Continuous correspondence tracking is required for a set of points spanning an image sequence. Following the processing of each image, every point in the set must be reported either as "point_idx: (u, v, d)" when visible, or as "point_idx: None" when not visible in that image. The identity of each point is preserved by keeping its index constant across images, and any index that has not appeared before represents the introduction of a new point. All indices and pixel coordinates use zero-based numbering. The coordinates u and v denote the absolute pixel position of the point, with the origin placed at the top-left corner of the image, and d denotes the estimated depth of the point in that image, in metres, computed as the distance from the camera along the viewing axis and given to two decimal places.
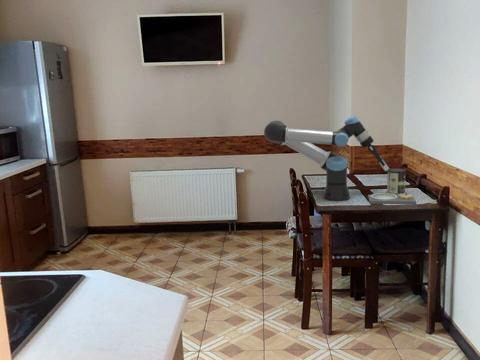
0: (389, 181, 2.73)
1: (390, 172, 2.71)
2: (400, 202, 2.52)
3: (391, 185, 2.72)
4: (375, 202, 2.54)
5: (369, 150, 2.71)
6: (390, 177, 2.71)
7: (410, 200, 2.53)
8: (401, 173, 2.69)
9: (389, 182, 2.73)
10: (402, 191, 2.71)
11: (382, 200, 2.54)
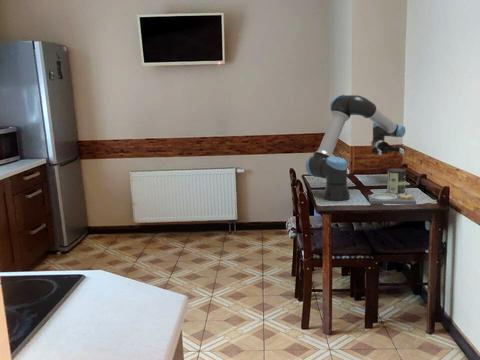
0: (389, 181, 2.73)
1: (390, 172, 2.71)
2: (400, 202, 2.52)
3: (391, 185, 2.72)
4: (375, 202, 2.54)
5: (389, 145, 2.93)
6: (390, 177, 2.71)
7: (410, 200, 2.53)
8: (401, 173, 2.69)
9: (389, 182, 2.73)
10: (402, 191, 2.71)
11: (382, 200, 2.54)
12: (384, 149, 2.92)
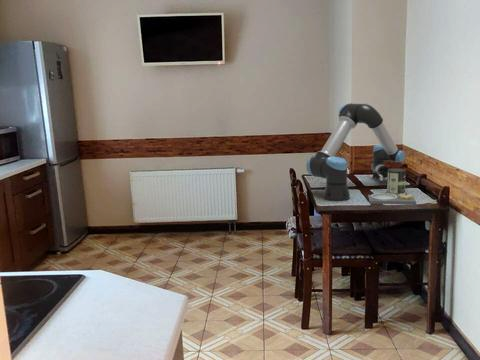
0: (389, 181, 2.73)
1: (390, 172, 2.71)
2: (400, 202, 2.52)
3: (391, 185, 2.72)
4: (375, 202, 2.54)
5: None
6: (390, 177, 2.71)
7: (410, 200, 2.53)
8: (401, 173, 2.69)
9: (389, 182, 2.73)
10: (402, 191, 2.71)
11: (382, 200, 2.54)
12: (385, 174, 2.93)
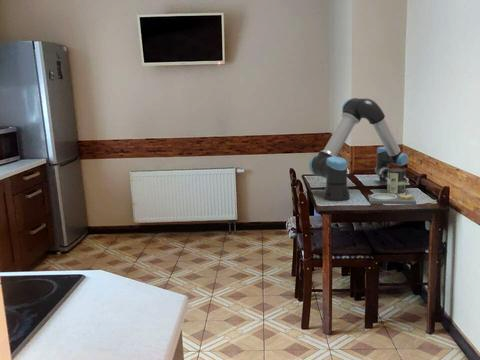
0: None
1: (390, 172, 2.71)
2: (400, 202, 2.52)
3: (391, 185, 2.72)
4: (375, 202, 2.54)
5: None
6: (390, 177, 2.71)
7: (410, 200, 2.53)
8: (401, 173, 2.69)
9: None
10: (402, 191, 2.71)
11: (382, 200, 2.54)
12: None
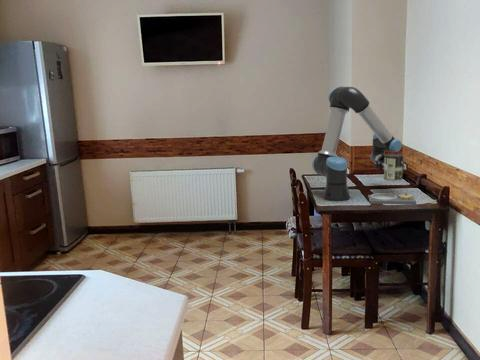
0: None
1: (387, 157, 2.59)
2: (400, 202, 2.52)
3: (388, 171, 2.60)
4: (375, 202, 2.54)
5: None
6: (387, 163, 2.60)
7: (410, 200, 2.53)
8: (398, 158, 2.57)
9: None
10: (399, 177, 2.60)
11: (382, 200, 2.54)
12: None
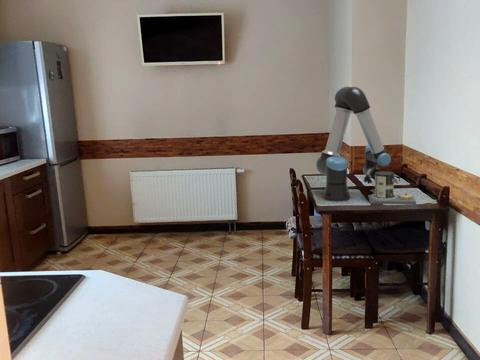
0: (376, 185, 2.57)
1: (377, 175, 2.55)
2: (400, 202, 2.52)
3: (379, 189, 2.56)
4: (375, 202, 2.54)
5: None
6: (377, 181, 2.56)
7: (410, 200, 2.53)
8: (389, 176, 2.53)
9: (376, 186, 2.57)
10: (390, 195, 2.55)
11: (382, 200, 2.54)
12: None
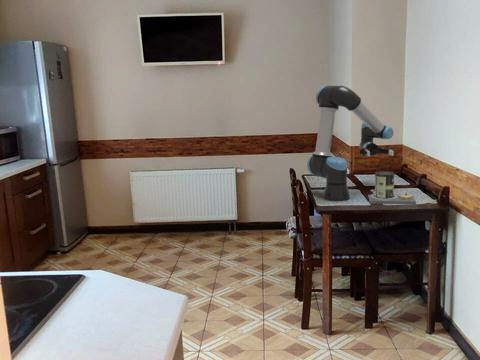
0: (376, 185, 2.57)
1: (377, 175, 2.55)
2: (400, 202, 2.52)
3: (379, 189, 2.56)
4: (375, 202, 2.54)
5: None
6: (377, 181, 2.55)
7: (410, 200, 2.53)
8: (389, 177, 2.52)
9: (376, 186, 2.57)
10: (390, 196, 2.55)
11: (382, 200, 2.54)
12: (372, 150, 2.77)
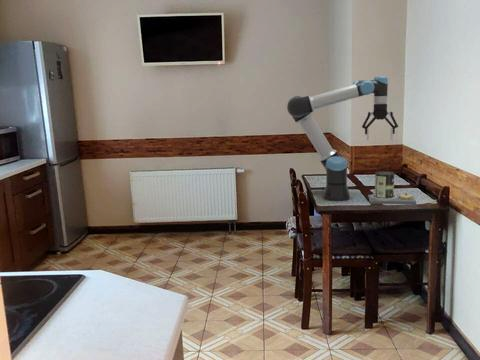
0: (376, 185, 2.57)
1: (377, 175, 2.55)
2: (400, 202, 2.52)
3: (378, 189, 2.56)
4: (375, 202, 2.54)
5: (384, 115, 2.68)
6: (377, 181, 2.56)
7: (410, 200, 2.53)
8: (389, 176, 2.53)
9: (376, 186, 2.57)
10: (390, 195, 2.55)
11: (382, 200, 2.54)
12: None
